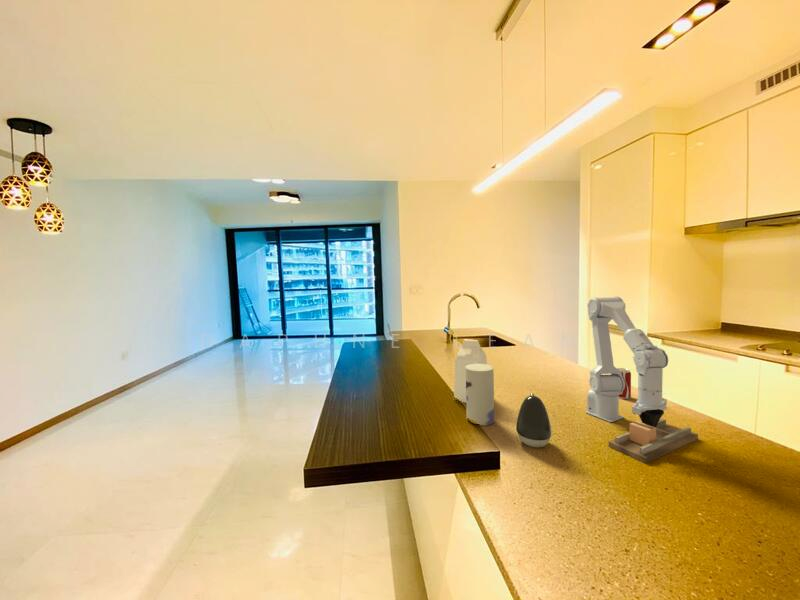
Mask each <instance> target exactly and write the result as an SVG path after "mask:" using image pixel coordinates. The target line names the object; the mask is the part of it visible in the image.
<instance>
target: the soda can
mask: <svg viewBox="0 0 800 600" xmlns="http://www.w3.org/2000/svg"><path fill="white" fill-rule="evenodd" d="M616 368H617V367H616ZM617 369H618V370H620V371H621V373H622V377H623V379H624V381H625V388H624V390H623V391H622V392H621V394H619V399H621V398H623V399H622V400H630V399H631V398H632V372H631V370H630V369H628V368H623V367H618V368H617Z"/></svg>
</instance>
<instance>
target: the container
mask: <svg viewBox="0 0 800 600" xmlns="http://www.w3.org/2000/svg"><path fill="white" fill-rule="evenodd" d="M465 370H466V403H465V405H466V409H465V410H466V411H465V413H466V419H467V418H469V419H471V420H473V421H475V422H477V423H478V424H480V425H479V426H489V425H492V424H493V423H495V386H494V385H495V384H494V383H495V382H494V378H495V377H494V367H493V366H492V365H490V364H488V363H487V364H470V365H467V366H466V367H465Z"/></svg>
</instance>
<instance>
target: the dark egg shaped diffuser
mask: <svg viewBox="0 0 800 600" xmlns="http://www.w3.org/2000/svg"><path fill="white" fill-rule="evenodd" d="M515 428H516V433H517V435H518V437H519V439H520V441H521V442H522V443H523V444H524V445H526V446H529V447H530V448H531V447H532V448H543V447H545V446H546V445H548V443H549V442H550V439H551V438H552V425H551V422H550V418H549V413H548V410H547V407H546V406H545V403H544V402H543V400H542V399H541V398H540V397H538V396H536V395H535V394H534V393H533V392H531V393H530V395H528V396H526V397H525V398H524V399H523V401H522V403H521V405H520V408H519V412H518V415H517V420H516V427H515Z"/></svg>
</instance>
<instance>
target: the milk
mask: <svg viewBox="0 0 800 600" xmlns="http://www.w3.org/2000/svg"><path fill="white" fill-rule="evenodd" d="M487 360H488V357H487V353H486V352H485V351H484V350H483V347H482V346H481V345H480V342H479V340H477V339H465V338H463V340H462V343H461V346H460V347H459V350H458V352H457V354H456V356H455V359H454V382H453V383H454V385H453V387H454V391H453V393H454V394H453V398H454V397H455V398H457V399H459V400H460V401H463V402H466V370H465V367H466V366H467V365H470V364H487V365H488V361H487ZM463 402H462V403H463Z"/></svg>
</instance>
